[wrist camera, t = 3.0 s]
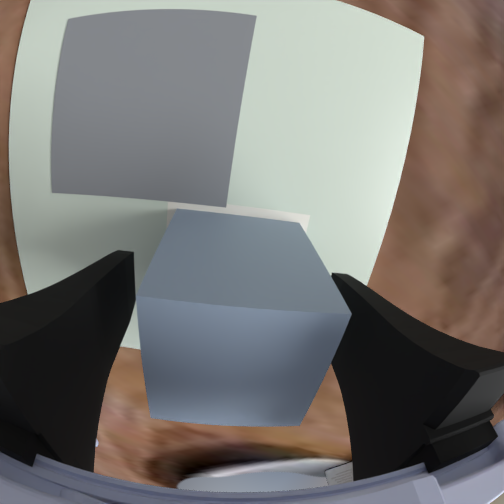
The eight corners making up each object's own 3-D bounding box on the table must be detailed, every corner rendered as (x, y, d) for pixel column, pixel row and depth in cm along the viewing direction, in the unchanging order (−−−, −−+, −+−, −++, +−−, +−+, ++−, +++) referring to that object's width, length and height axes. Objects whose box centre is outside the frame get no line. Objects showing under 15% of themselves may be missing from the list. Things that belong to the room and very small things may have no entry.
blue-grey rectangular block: (172, 309, 12) (150, 417, 8) (176, 208, 11) (135, 295, 6) (276, 319, 13) (299, 425, 8) (299, 222, 11) (351, 314, 6)
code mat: (40, 324, 13) (37, 329, 13) (34, 2, 6) (29, 0, 6) (333, 358, 15) (335, 363, 15) (420, 37, 8) (425, 36, 8)
